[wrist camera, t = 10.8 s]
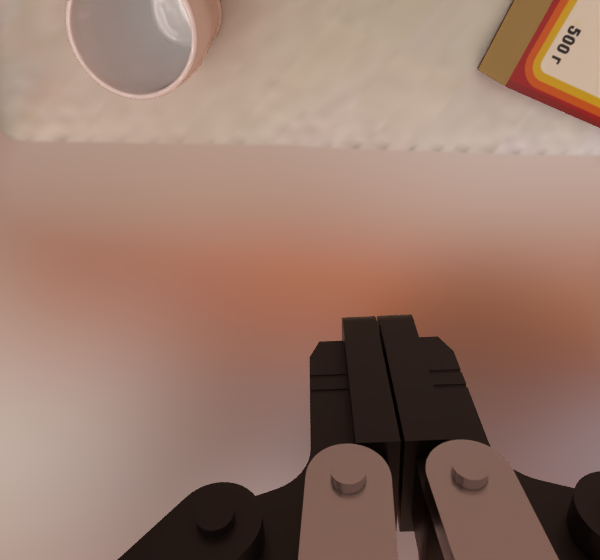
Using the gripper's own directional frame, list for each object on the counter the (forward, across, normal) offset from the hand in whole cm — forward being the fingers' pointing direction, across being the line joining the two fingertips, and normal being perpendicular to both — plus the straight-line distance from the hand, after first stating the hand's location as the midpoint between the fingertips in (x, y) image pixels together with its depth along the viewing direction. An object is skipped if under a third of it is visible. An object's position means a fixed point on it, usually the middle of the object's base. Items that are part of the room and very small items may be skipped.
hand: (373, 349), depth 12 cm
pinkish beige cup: (+35, +10, -5) cm, 37 cm away
